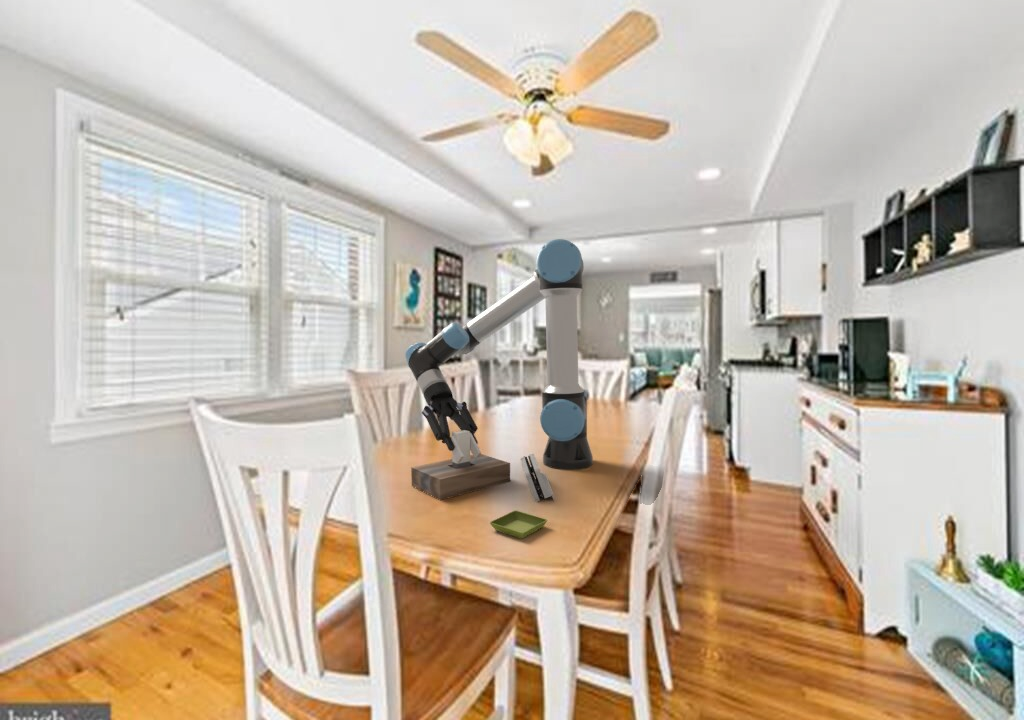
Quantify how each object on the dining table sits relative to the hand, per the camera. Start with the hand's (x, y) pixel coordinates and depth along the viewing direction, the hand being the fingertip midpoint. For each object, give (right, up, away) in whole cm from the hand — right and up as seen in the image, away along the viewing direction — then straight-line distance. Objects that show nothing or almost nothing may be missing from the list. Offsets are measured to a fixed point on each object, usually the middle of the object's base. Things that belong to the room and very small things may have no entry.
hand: (469, 457), depth 124 cm
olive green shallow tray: (+12, -10, -26) cm, 31 cm away
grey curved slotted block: (+17, -8, -2) cm, 19 cm away
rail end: (-2, -7, +3) cm, 8 cm away
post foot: (-2, -8, +3) cm, 9 cm away
